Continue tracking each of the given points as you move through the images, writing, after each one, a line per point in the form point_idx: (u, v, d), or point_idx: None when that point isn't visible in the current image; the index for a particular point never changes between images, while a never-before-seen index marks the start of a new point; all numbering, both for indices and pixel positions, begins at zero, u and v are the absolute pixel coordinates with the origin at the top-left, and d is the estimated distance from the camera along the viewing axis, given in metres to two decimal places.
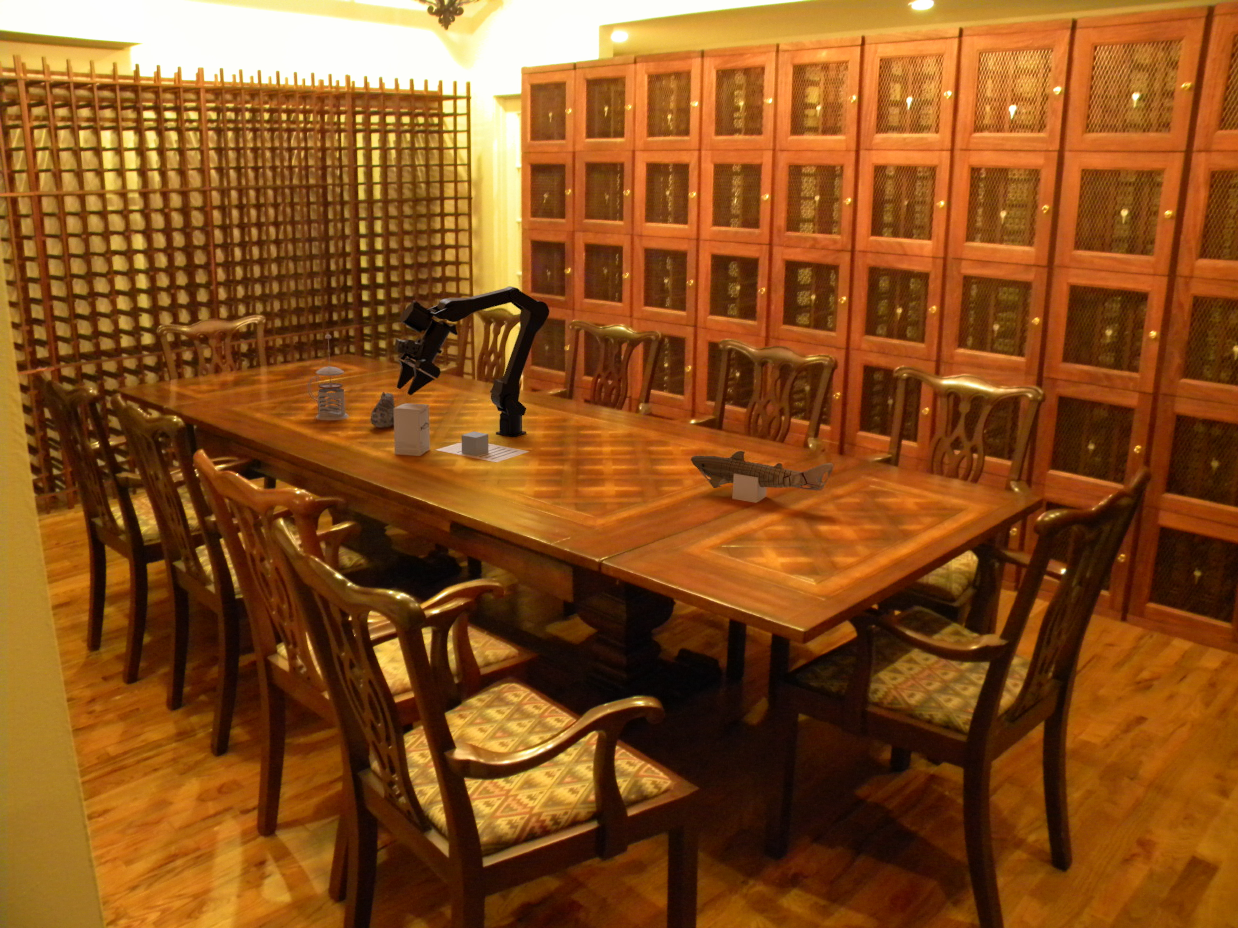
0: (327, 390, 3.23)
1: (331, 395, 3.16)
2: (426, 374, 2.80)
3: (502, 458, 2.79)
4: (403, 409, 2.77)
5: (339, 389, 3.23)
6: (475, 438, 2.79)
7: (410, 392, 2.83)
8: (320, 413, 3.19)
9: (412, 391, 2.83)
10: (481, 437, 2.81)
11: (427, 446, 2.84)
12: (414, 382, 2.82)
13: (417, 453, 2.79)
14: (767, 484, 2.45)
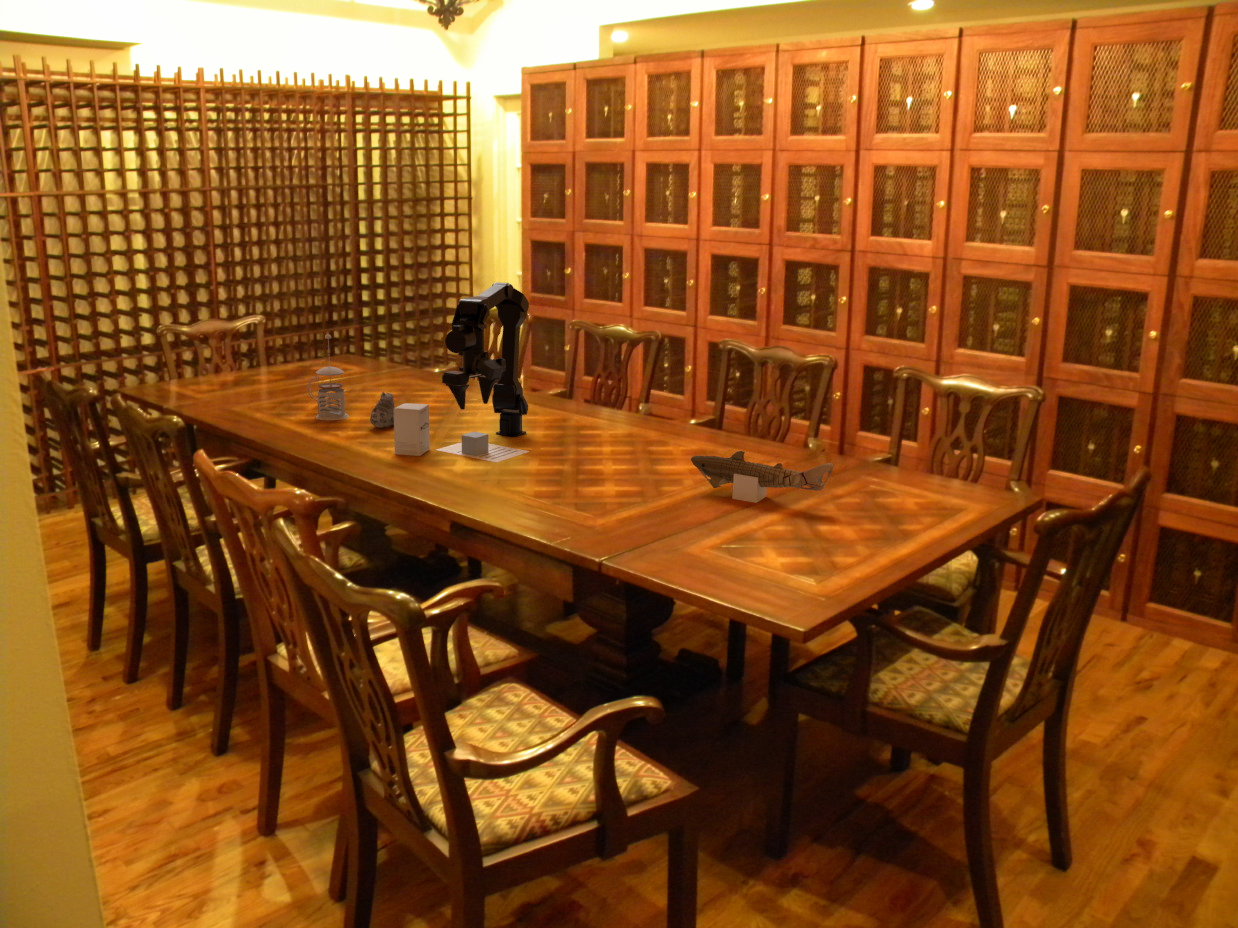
0: (327, 390, 3.23)
1: (331, 395, 3.16)
2: None
3: (502, 458, 2.79)
4: (403, 409, 2.77)
5: (339, 389, 3.23)
6: (475, 438, 2.79)
7: None
8: (320, 413, 3.19)
9: None
10: (481, 437, 2.81)
11: (427, 446, 2.84)
12: None
13: (417, 453, 2.79)
14: (767, 484, 2.45)
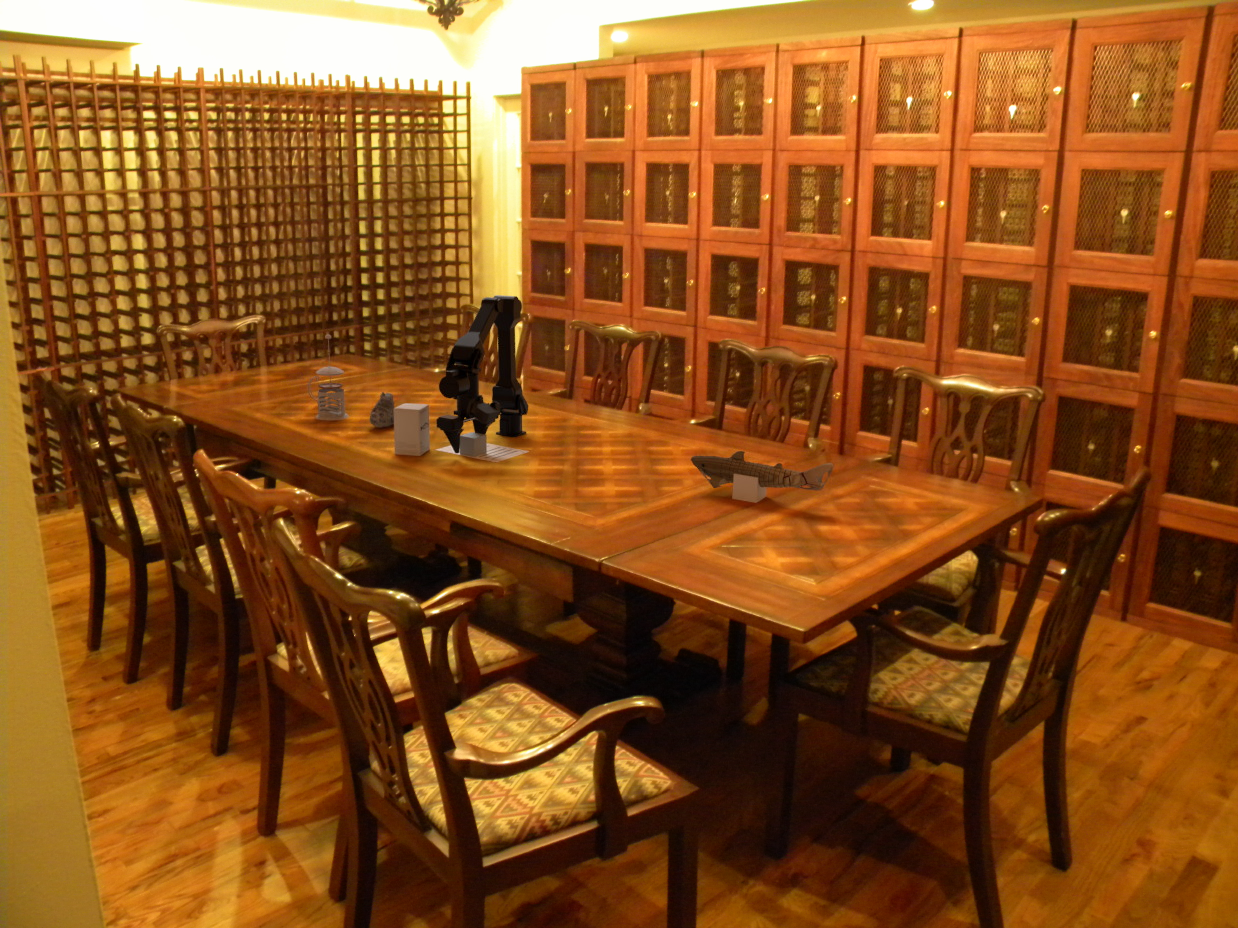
0: (327, 390, 3.23)
1: (331, 395, 3.16)
2: None
3: (502, 458, 2.79)
4: (403, 409, 2.77)
5: (339, 389, 3.23)
6: (473, 439, 2.78)
7: None
8: (320, 413, 3.19)
9: None
10: (479, 438, 2.80)
11: (427, 446, 2.84)
12: None
13: (417, 453, 2.79)
14: (767, 484, 2.45)
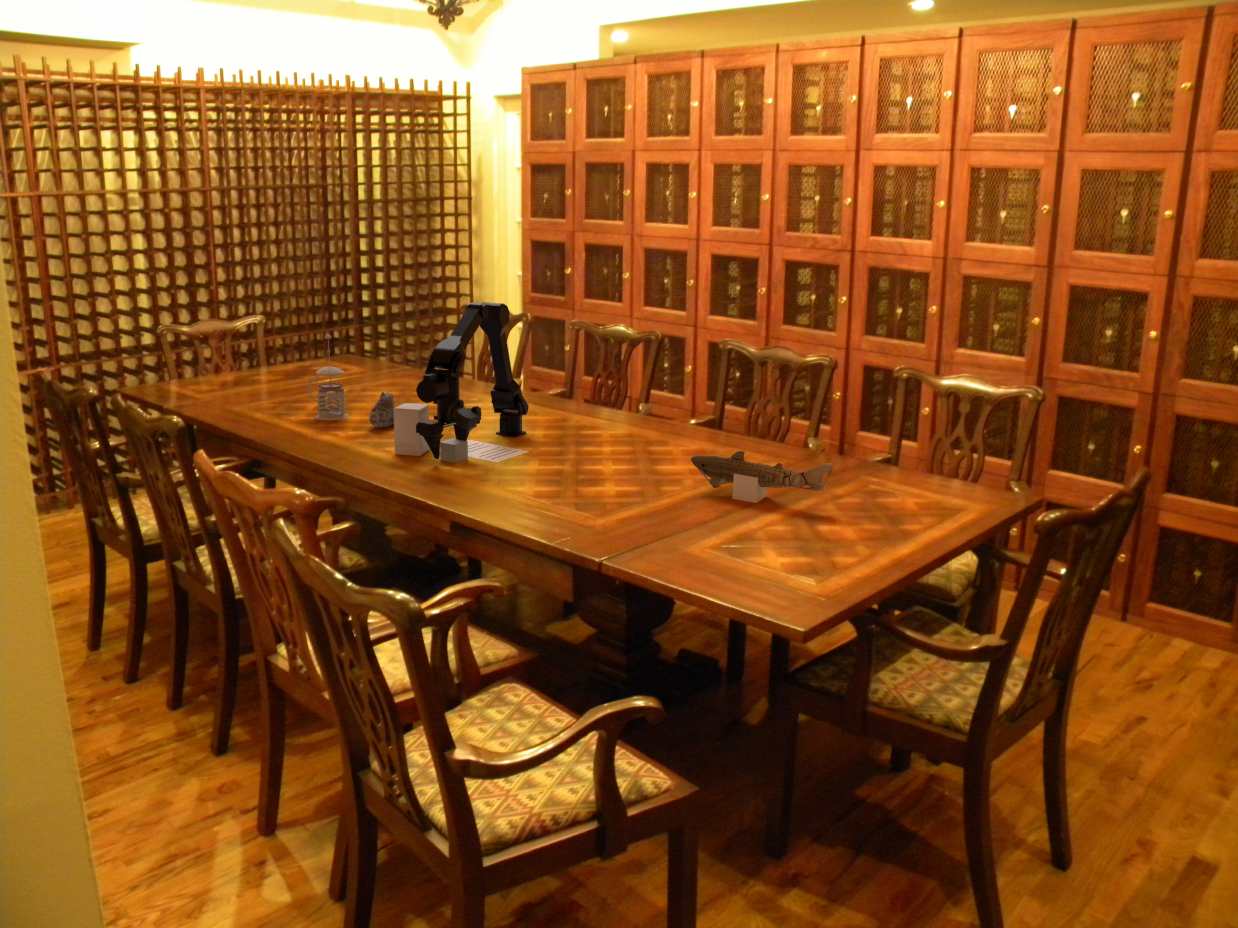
0: (327, 390, 3.23)
1: (331, 395, 3.16)
2: None
3: (502, 458, 2.79)
4: (403, 409, 2.77)
5: (339, 389, 3.23)
6: (454, 445, 2.72)
7: None
8: (320, 413, 3.19)
9: None
10: (460, 444, 2.74)
11: (427, 446, 2.84)
12: None
13: (417, 453, 2.79)
14: (767, 484, 2.45)
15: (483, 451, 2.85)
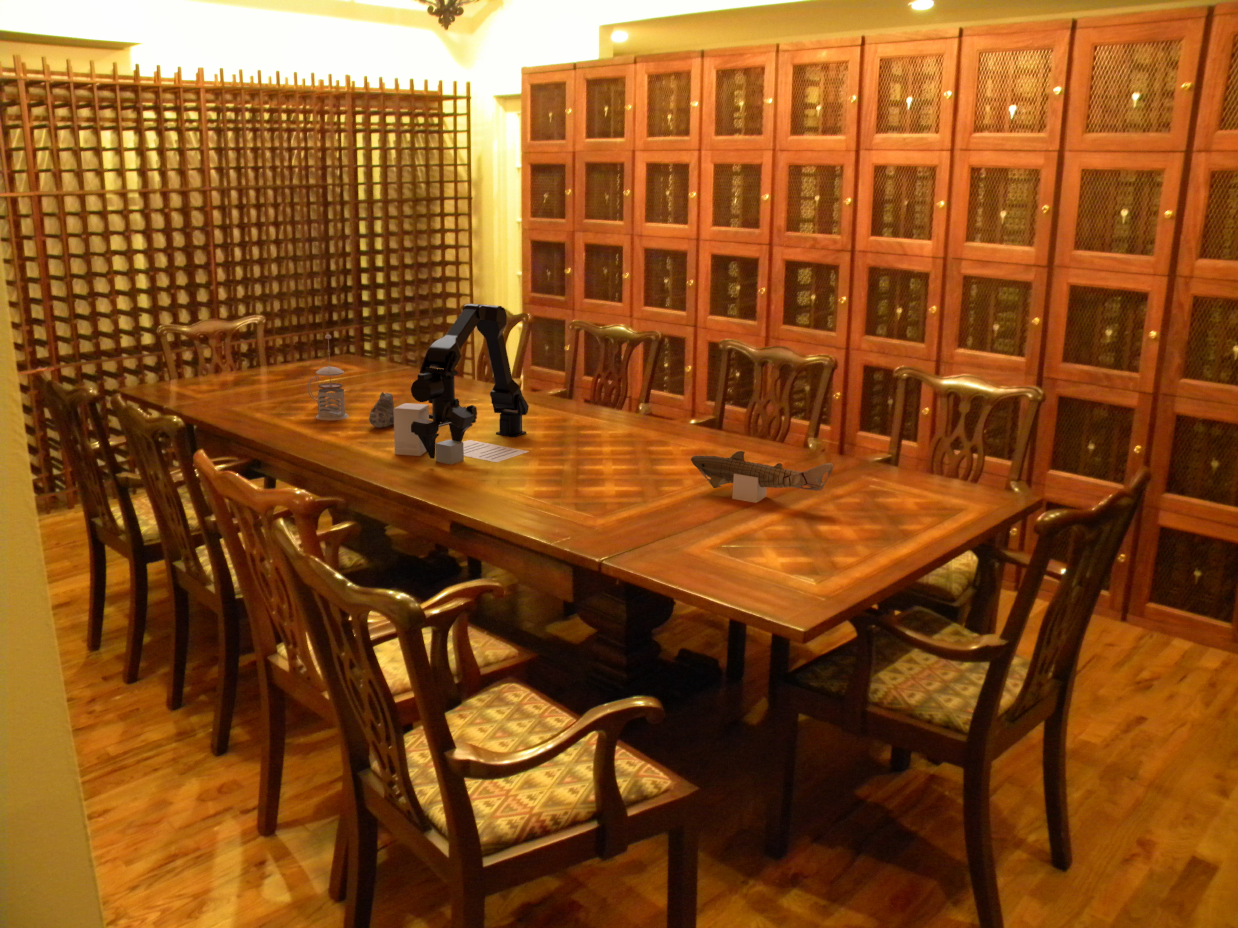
0: (327, 390, 3.23)
1: (331, 395, 3.16)
2: None
3: (502, 458, 2.79)
4: (403, 409, 2.77)
5: (339, 389, 3.23)
6: (449, 447, 2.71)
7: None
8: (320, 413, 3.19)
9: None
10: (456, 445, 2.73)
11: None
12: None
13: (417, 453, 2.79)
14: (767, 484, 2.45)
15: (483, 451, 2.85)
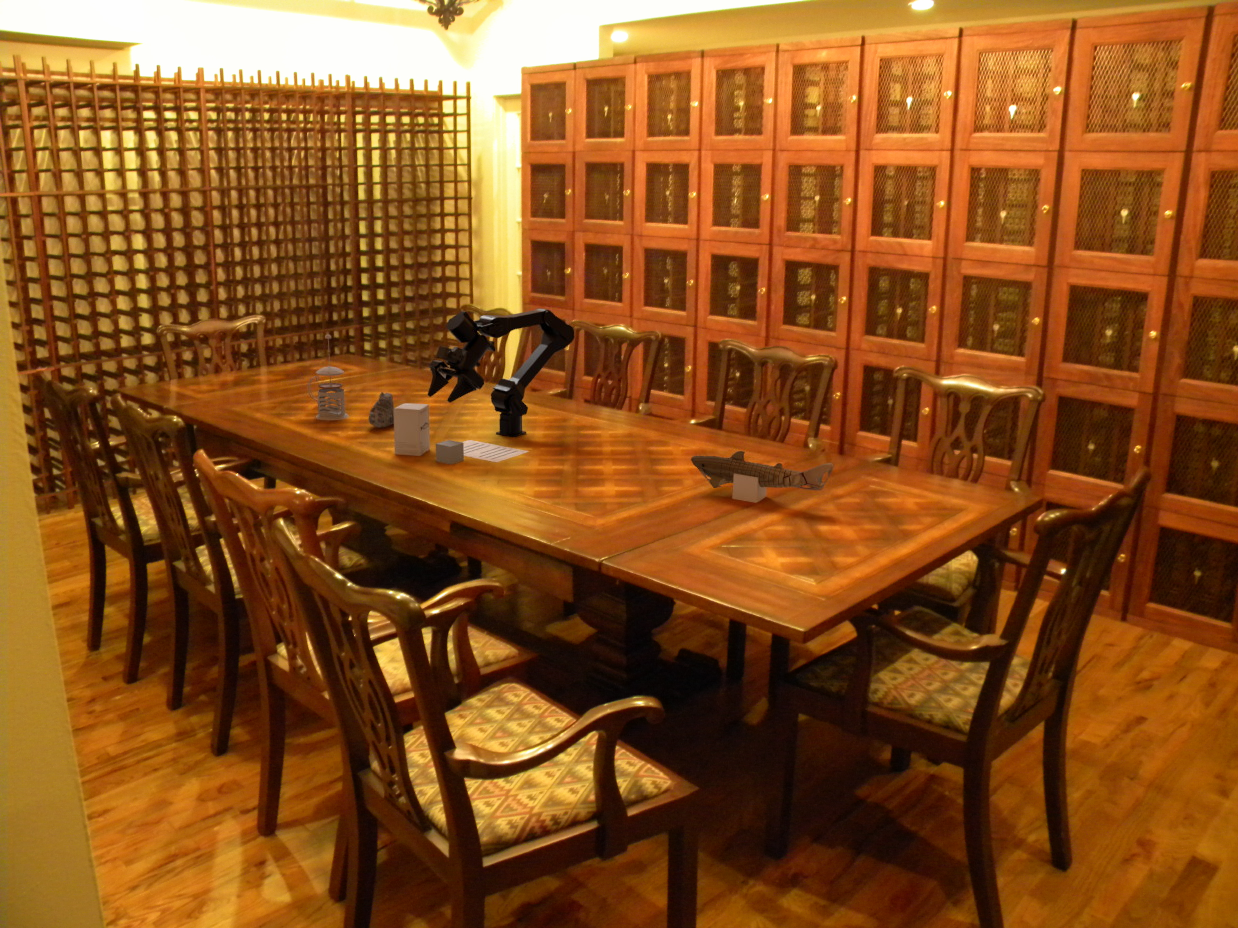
0: (327, 390, 3.23)
1: (331, 395, 3.16)
2: (471, 383, 2.82)
3: (502, 458, 2.79)
4: (403, 409, 2.77)
5: (339, 389, 3.23)
6: (450, 447, 2.71)
7: (450, 399, 2.82)
8: (320, 413, 3.19)
9: (452, 399, 2.83)
10: (456, 446, 2.73)
11: (427, 446, 2.84)
12: (456, 390, 2.82)
13: (417, 453, 2.79)
14: (767, 484, 2.45)
15: (483, 451, 2.85)
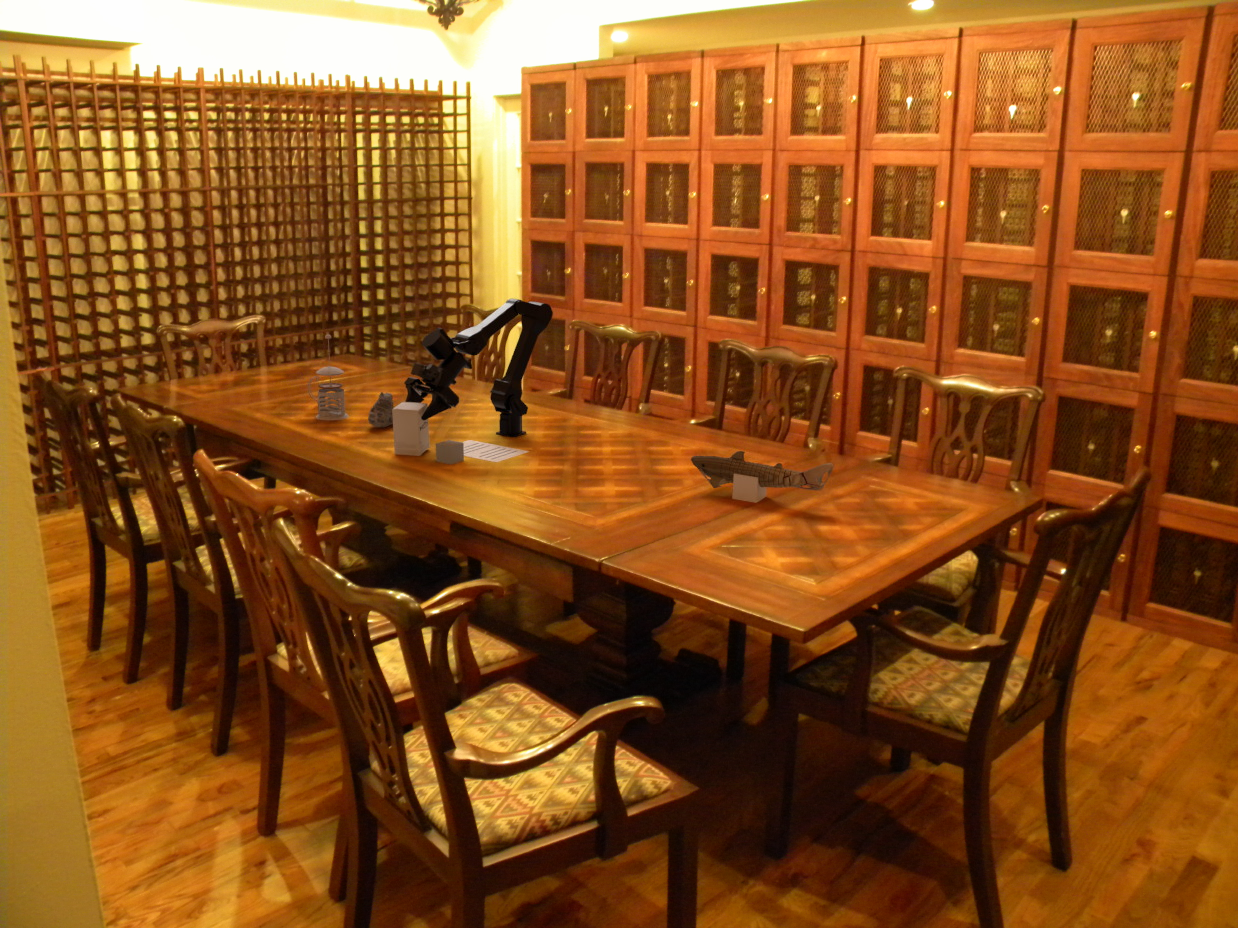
0: (327, 390, 3.23)
1: (331, 395, 3.16)
2: (445, 401, 2.78)
3: (502, 458, 2.79)
4: (402, 410, 2.76)
5: (339, 389, 3.23)
6: (450, 447, 2.71)
7: (424, 417, 2.78)
8: (320, 413, 3.19)
9: (426, 417, 2.78)
10: (456, 446, 2.73)
11: (427, 445, 2.84)
12: (431, 408, 2.78)
13: (417, 453, 2.79)
14: (767, 484, 2.45)
15: (483, 451, 2.85)
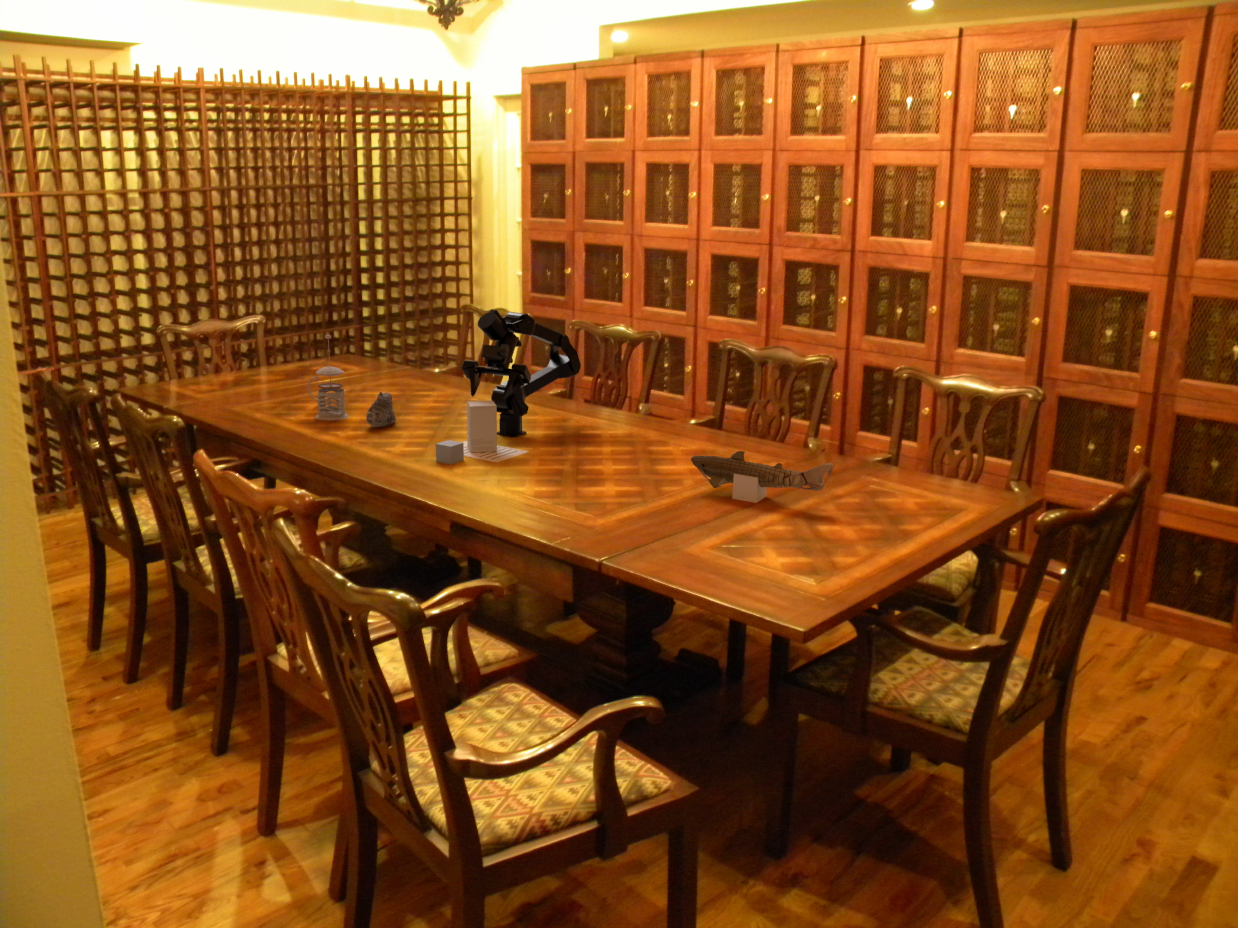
0: (327, 390, 3.23)
1: (331, 395, 3.16)
2: (522, 378, 2.90)
3: (502, 458, 2.79)
4: (480, 406, 2.81)
5: (339, 389, 3.23)
6: (450, 447, 2.71)
7: (505, 396, 2.87)
8: (320, 413, 3.19)
9: (506, 395, 2.88)
10: (456, 446, 2.73)
11: None
12: (510, 386, 2.88)
13: (494, 449, 2.85)
14: (767, 484, 2.45)
15: None
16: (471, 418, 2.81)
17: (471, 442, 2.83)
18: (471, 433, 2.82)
